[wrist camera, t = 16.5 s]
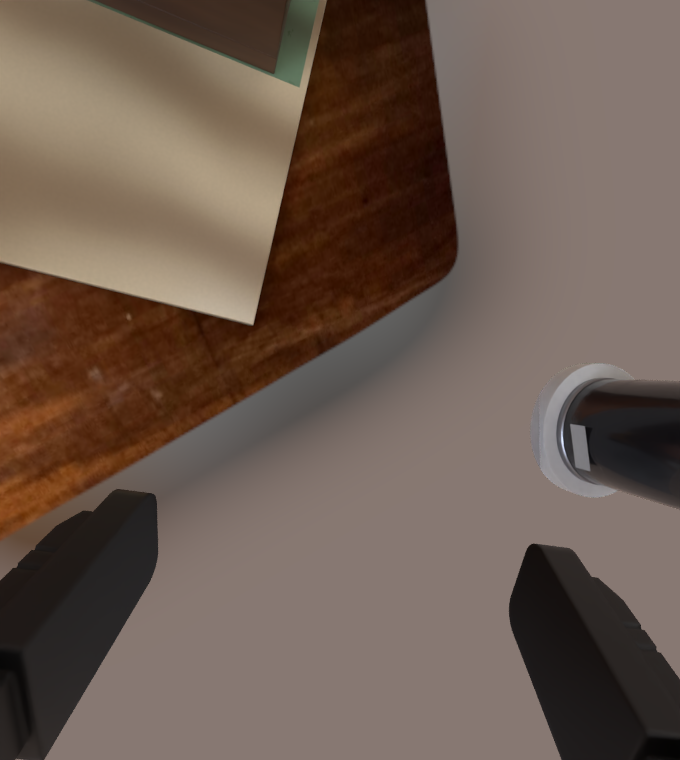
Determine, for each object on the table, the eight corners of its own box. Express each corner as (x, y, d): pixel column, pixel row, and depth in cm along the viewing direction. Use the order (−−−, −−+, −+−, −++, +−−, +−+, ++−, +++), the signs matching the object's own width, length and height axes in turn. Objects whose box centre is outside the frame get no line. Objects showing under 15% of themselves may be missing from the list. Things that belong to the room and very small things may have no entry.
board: (252, 326, 29) (253, 324, 28) (-100, 238, 24) (-112, 233, 23) (339, -57, 30) (342, -68, 29) (18, -223, 25) (11, -242, 24)
